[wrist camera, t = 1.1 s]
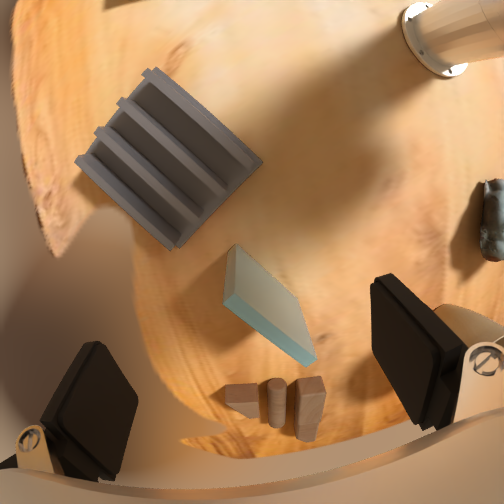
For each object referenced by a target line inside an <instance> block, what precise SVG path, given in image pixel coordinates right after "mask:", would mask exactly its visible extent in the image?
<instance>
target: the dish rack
mask: <svg viewBox="0 0 504 504" xmlns="http://www.w3.org/2000/svg"><path fill="white" fill-rule="evenodd" d="M141 75H142V76H144V77H145V79H144V80H143V81H142V82H141V83H140V84H139V85H138V86H137V88H136V89H135V90H134V91H133V92H132V93H131V94H130V96H129V97H128V98H124V97H121V98H120V100H119V101H118V102H117V103H116V104H117V105H118V106H119V107H120V108H119V109H118V110H117V111H116V113H115V114H114V115H113V116H112V118H111V119H110V120H109V122H108V123H107V124H106V126H105V127H101V126H99V127H98V128H97V129H96V131H95V132H94V134H95V135H96V136H97V138H96V139H95V141H94V142H93V143H92V145H91V146H90V148H89V149H88V151H87V152H86V154H84V155H78V157H77V158H76V160H75V162H74V163H75V164H76V165H77V166H79V167H80V168H81V169H82V170H83V171H84V172H85V173H86V174H87V175H88V176H89V177H90V178H91V179H92V180H93V181H94V182H95V183H96V184H97V185H98V186H99V187H100V188H101V189H102V190H103V191H104V192H105V193H106V194H107V195H109V196H110V197H111V198H112V199H113V200H114V201H115V202H116V203H117V204H118V205H119V206H120V207H121V208H122V209H124V210H125V211H126V212H127V213H128V214H129V215H130V216H131V217H132V218H133V219H134V220H135V221H137V222H138V223H139V224H140V225H141V226H142V227H143V228H144V229H145V230H147V231H148V232H149V233H150V234H151V235H152V236H153V237H154V238H156V239H157V240H158V241H159V242H160V243H161V244H162V245H163V246H165V247H166V248H167V249H168V250H169V251H171V250H172V249H173V247H174V246H175V245H176V246H177V247H178V248H179V249H180V248H181V247H182V245H183V244H184V243H185V242H186V241H187V240H188V239H189V238H190V237H191V236H192V235H193V234H194V233H195V231H196V230H197V229H198V228H199V227H200V226H201V225H202V224H203V223H204V222H205V221H206V220H207V219H208V218H209V217H210V216H211V215H212V214H213V212H214V211H215V210H216V209H217V208H218V207H219V206H220V205H221V204H222V203H223V202H224V201H225V200H226V199H227V198H228V197H229V196H230V195H231V194H232V193H233V192H234V191H235V190H236V189H237V188H238V187H239V186H240V185H241V184H242V183H243V182H244V181H245V180H246V179H247V178H248V177H249V176H250V175H251V174H252V173H253V172H254V171H255V170H256V169H257V168H258V167H259V166H260V165H261V164H262V163H263V162H262V161H261V160H260V159H259V158H258V157H257V156H256V155H255V154H254V153H253V152H252V151H251V150H250V149H249V148H248V147H247V146H246V145H245V144H244V143H243V142H242V141H241V140H240V139H239V138H237V137H236V136H235V135H234V134H233V133H232V132H231V131H230V130H229V129H228V128H227V127H226V126H225V125H223V124H222V123H221V122H220V121H219V120H218V119H217V118H216V117H215V116H214V115H212V114H211V113H210V112H209V111H208V110H207V109H206V108H205V107H203V106H202V105H201V104H200V103H199V102H198V101H197V100H195V99H194V98H193V97H192V96H191V95H190V94H189V93H187V92H186V91H185V90H184V89H183V88H182V87H180V86H179V85H178V84H177V83H176V82H174V81H173V80H172V79H171V78H170V77H168V76H167V75H166V74H165V73H163V72H162V71H161V70H160V69H159V68H157V67H155V68H154V69H153V70H152V71H151V70H150V69H149V68H147V69H146V70H145V71H144V72H143V73H142V74H141Z"/></svg>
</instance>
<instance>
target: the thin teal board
mask: <svg viewBox="0 0 504 504" xmlns="http://www.w3.org/2000/svg"><path fill="white" fill-rule="evenodd" d="M222 304H223V305H224V306H225V307H227V308H228V309H229V310H231V311H232V312H233V313H234V314H236V315H237V316H238V317H239V318H241V319H242V320H243V321H245V322H246V323H247V324H248V325H250V326H251V327H252V328H254V329H255V330H256V331H257V332H259V333H260V334H261V335H263V336H264V337H265V338H267V339H268V340H269V341H271V342H272V343H273V344H275V345H276V346H277V347H279V348H280V349H281V350H283V351H284V352H285V353H287V354H288V355H290V356H291V357H292V358H294V359H295V360H296V361H298V362H299V363H301V364H302V365H303V366H305V367H307V366H309V365H310V364H312V363H313V362H314V361H316V360H317V356H316V353H315V350H314V347H313V344H312V340H311V337H310V334H309V331H308V328H307V325H306V322H305V319H304V316H303V313H302V310H301V307H300V304H299V301H298V299H297V298H296V297H295V296H294V295H293V294H292V293H291V292H290V291H289V290H287V289H286V288H285V287H284V286H283V285H282V284H281V283H280V282H279V281H278V280H276V279H275V278H274V277H273V276H272V275H271V274H270V273H269V272H268V271H266V270H265V269H264V268H263V267H262V266H261V265H260V264H259V263H258V262H256V261H255V260H254V259H253V258H252V257H251V256H250V255H249V254H248V253H247V252H245V251H244V250H243V249H242V248H241V247H240V246H239V245H238V244H237V243H236V244H235V245H234V246H233V247H232V248H231V249H230V250H229V251H228V255H227V264H226V274H225V283H224V292H223V302H222Z"/></svg>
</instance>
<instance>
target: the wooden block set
mask: <svg viewBox="0 0 504 504" xmlns="http://www.w3.org/2000/svg"><path fill="white" fill-rule="evenodd" d="M286 389H287V384H286V382H285V381H284V380H283V379H281V378H274V379H271V380H270V381H269V382H268V384H267V394H268V423H269V425H270V426H271V427H273V428H281V427H282V426H284V424H285V416H286ZM325 397H326V390H325V387H324V384H323V381H322V378H321V376H317V377H309V378H301V379H297V380H296V390H295V404H294V410H295V418H294V429H295V435H296V438H297V439H298V440H301V441H304V442H313V441H315V440H316V436H317V431H318V426H319V422H320V421H321V418H322V413H323V407H324V402H325ZM225 404H227V405H228V406H230V407H231V408H233V409H234V410H236V411H238V412H239V413H241V414H243V415H244V416H246V417H247V418H249V419H251V418H260V417H259V402H258V389H257V383H251V384H231V385H225Z"/></svg>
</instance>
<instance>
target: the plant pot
mask: <svg viewBox="0 0 504 504" xmlns="http://www.w3.org/2000/svg"><path fill="white" fill-rule="evenodd" d="M433 312H434V313H435V314H436V315H437V316H438V317H439V318H440V319H441V320H442V321H443V322H444V323H445V324H446V325H447V326H448V327H449V328H450V329H451V330H452V331H453V332H454V333H455V334H456V335H457V336H458V337H459V338H460V339H461V340H462V341H463V342H464V343H465V344H466V345H467V347H468V348H470V347H471V346H473V345H474V344H477V343H480V342H492V343H496V344H498V345H500V346H502V347H503V348H504V327H503V326H502V325H500V324H498V323H497V322H495V321H493V320H491V319H489V318H487V317H485V316H483V315H481V314H479V313H476V312H474V311H471V310H469V309H466V308H463V307H459V306H456V305H452V304H444V305H441V306H440V307H438V308H437V309H436V310H434V311H433Z"/></svg>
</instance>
